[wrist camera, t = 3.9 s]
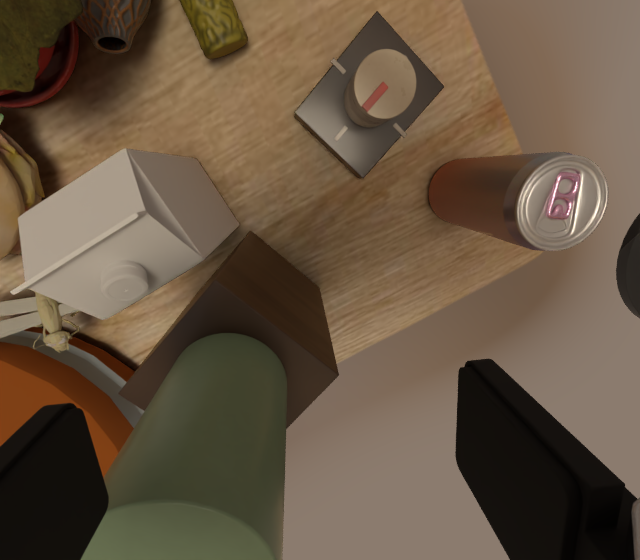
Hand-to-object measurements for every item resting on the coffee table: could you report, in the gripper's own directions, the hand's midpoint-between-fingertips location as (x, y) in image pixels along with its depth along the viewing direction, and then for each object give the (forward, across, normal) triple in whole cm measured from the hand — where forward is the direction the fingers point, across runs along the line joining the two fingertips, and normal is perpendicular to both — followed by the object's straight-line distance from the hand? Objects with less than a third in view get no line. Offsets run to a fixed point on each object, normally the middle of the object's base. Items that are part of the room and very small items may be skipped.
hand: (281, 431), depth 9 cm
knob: (+26, -8, -11) cm, 29 cm away
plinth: (+28, +4, +5) cm, 29 cm away
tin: (+11, +4, +5) cm, 13 cm away
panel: (+28, -8, -11) cm, 32 cm away
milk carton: (+29, +9, -3) cm, 30 cm away
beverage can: (+28, -17, -3) cm, 33 cm away
